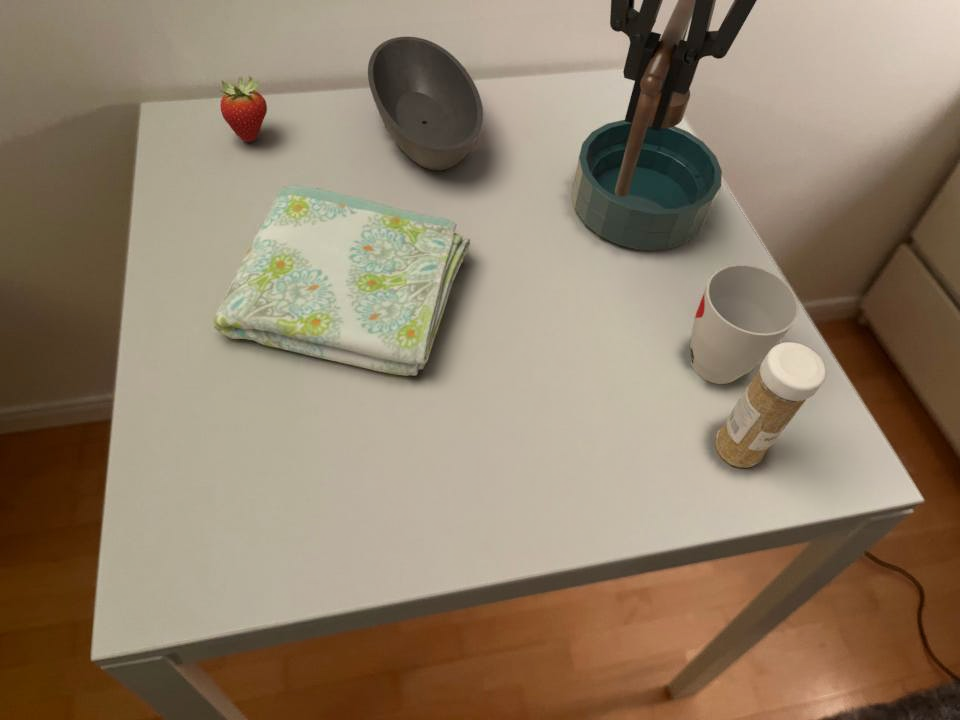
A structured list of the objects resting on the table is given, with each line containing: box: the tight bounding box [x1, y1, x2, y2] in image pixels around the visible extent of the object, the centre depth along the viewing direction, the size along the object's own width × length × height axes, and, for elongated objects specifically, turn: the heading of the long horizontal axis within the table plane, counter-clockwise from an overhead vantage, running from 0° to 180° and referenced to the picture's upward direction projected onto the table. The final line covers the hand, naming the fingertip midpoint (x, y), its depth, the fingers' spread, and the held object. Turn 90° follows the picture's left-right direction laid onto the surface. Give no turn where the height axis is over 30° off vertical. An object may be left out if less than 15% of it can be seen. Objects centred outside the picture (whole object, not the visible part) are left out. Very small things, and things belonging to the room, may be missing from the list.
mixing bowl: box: [570, 119, 723, 251], centre depth 83 cm, size 16×16×6 cm
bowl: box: [367, 36, 484, 172], centre depth 88 cm, size 12×22×6 cm, turn 19°
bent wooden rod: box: [615, 0, 696, 197], centre depth 63 cm, size 16×5×12 cm, turn 158°
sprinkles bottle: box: [714, 341, 827, 469], centre depth 62 cm, size 5×5×14 cm
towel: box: [212, 184, 471, 377], centre depth 73 cm, size 18×21×5 cm
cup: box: [689, 263, 800, 385], centre depth 69 cm, size 8×8×10 cm
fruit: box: [217, 75, 268, 143], centre depth 85 cm, size 5×5×8 cm
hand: (646, 116), depth 62 cm, fingers closed on bent wooden rod, 2 cm apart
